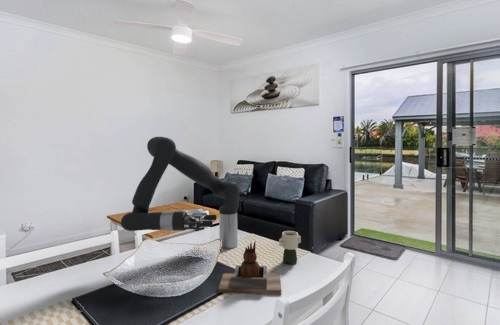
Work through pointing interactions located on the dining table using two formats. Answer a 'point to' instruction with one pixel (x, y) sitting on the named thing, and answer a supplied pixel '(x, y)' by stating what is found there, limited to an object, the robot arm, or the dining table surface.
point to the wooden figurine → (250, 263)
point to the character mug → (289, 246)
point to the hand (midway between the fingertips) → (214, 220)
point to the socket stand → (250, 283)
